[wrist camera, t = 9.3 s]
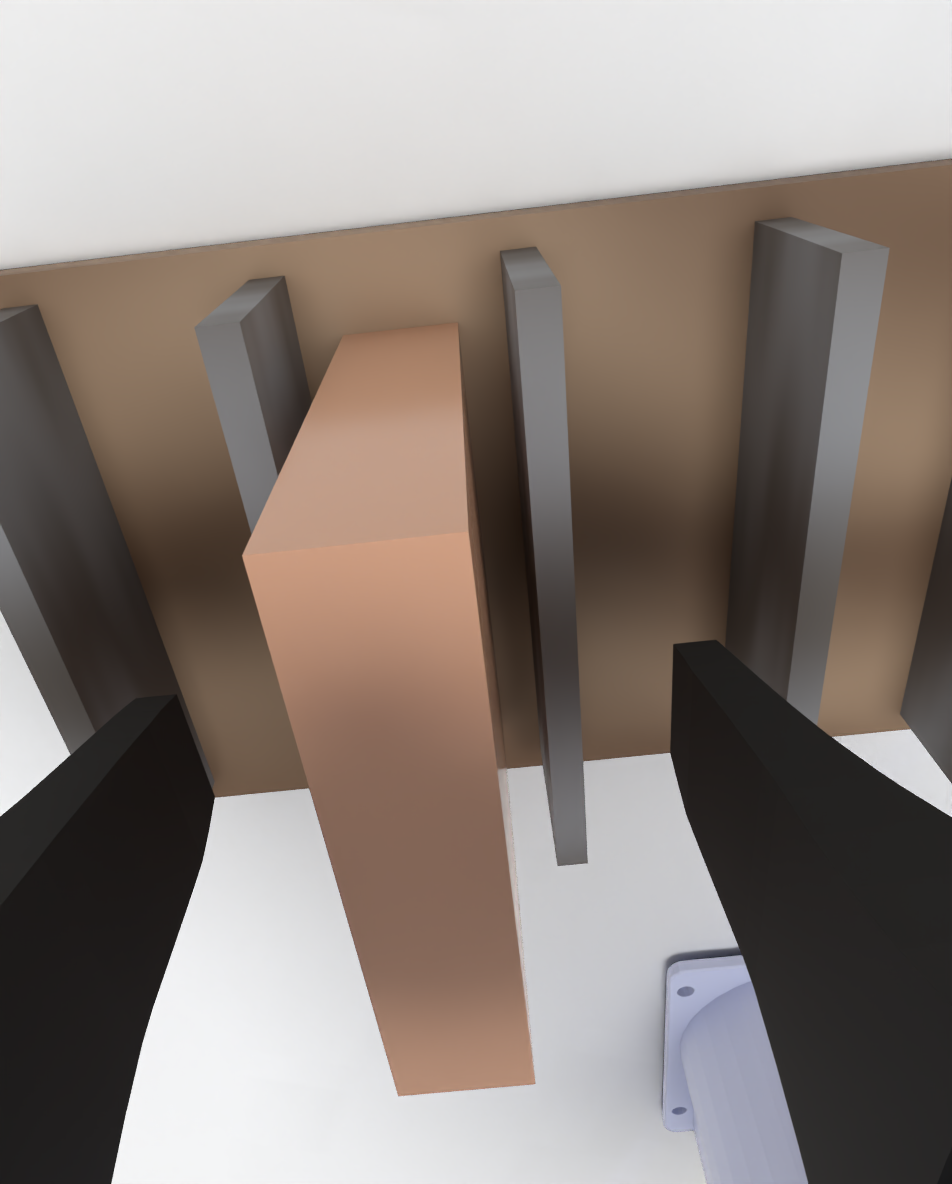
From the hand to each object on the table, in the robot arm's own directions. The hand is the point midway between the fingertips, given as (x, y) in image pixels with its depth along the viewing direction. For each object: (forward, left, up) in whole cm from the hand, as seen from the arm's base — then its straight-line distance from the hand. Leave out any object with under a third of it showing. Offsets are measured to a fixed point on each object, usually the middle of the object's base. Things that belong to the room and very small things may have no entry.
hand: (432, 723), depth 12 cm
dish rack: (0, -2, -6) cm, 6 cm away
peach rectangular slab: (0, 0, -5) cm, 5 cm away
